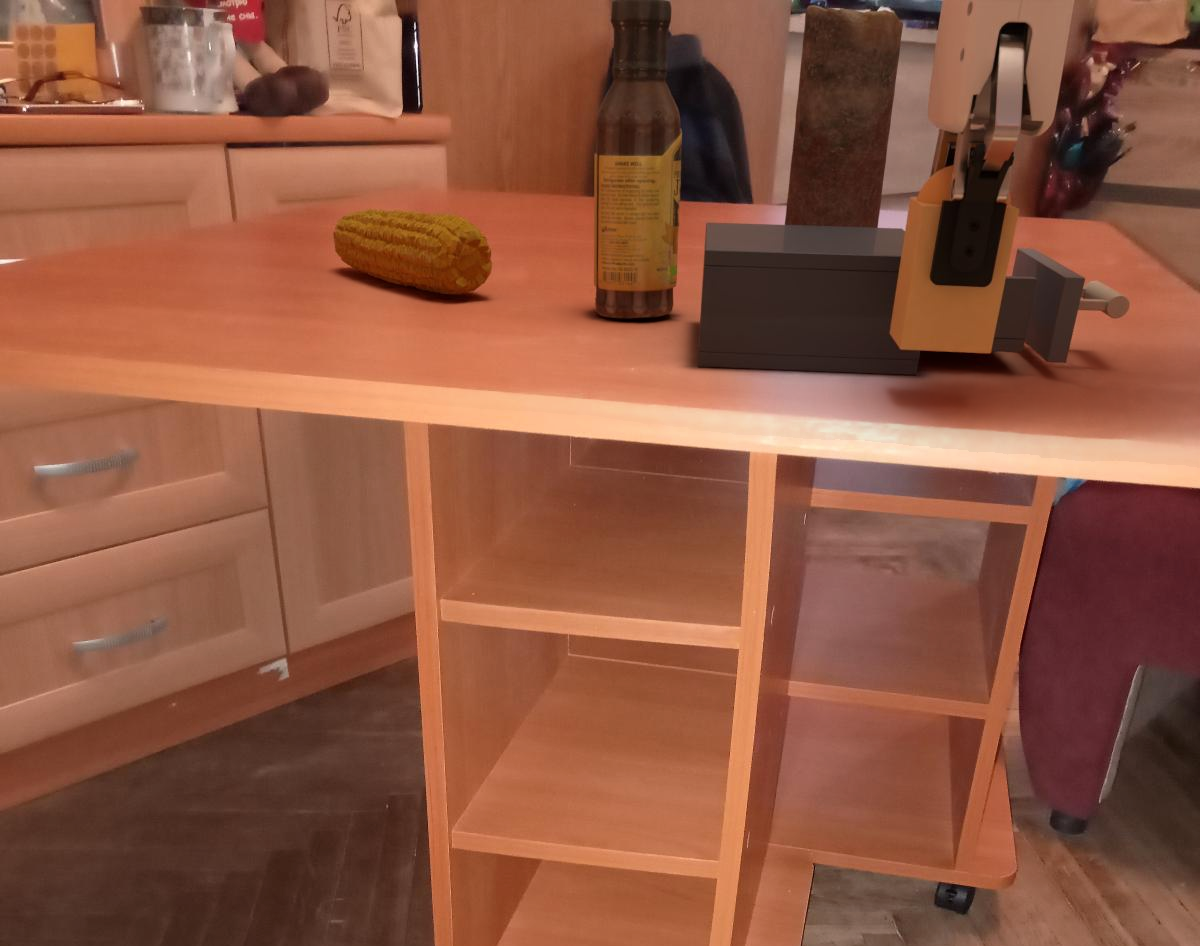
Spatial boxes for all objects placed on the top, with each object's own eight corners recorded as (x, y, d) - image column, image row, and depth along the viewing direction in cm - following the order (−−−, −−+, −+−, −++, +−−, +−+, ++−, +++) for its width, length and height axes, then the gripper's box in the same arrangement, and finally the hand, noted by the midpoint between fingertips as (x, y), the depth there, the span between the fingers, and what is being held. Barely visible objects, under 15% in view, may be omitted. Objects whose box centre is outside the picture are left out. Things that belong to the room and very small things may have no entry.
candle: (793, 292, 98) (822, 8, 87) (878, 300, 95) (919, 8, 84) (764, 306, 92) (791, 3, 81) (853, 315, 90) (893, 3, 79)
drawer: (1078, 325, 83) (1096, 250, 80) (1134, 365, 72) (1157, 280, 69) (843, 317, 84) (852, 242, 81) (863, 355, 73) (874, 270, 70)
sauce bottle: (687, 320, 86) (705, -3, 76) (609, 324, 84) (617, -6, 74) (654, 305, 91) (667, 1, 81) (580, 309, 89) (583, -2, 79)
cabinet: (887, 331, 84) (902, 228, 81) (916, 375, 72) (935, 257, 69) (699, 324, 85) (706, 222, 82) (697, 366, 73) (705, 249, 70)
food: (504, 298, 93) (502, 216, 89) (446, 306, 90) (441, 220, 86) (366, 265, 106) (360, 192, 103) (311, 270, 103) (303, 195, 99)
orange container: (974, 337, 68) (1008, 163, 63) (990, 353, 64) (1027, 169, 59) (889, 333, 68) (915, 160, 63) (899, 349, 64) (929, 165, 59)
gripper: (1166, -173, 47) (1057, 307, 57) (1060, -117, 61) (988, 259, 71) (979, -177, 47) (904, 300, 57) (917, -120, 61) (865, 254, 71)
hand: (951, 273), depth 64 cm, fingers closed on orange container, 4 cm apart
